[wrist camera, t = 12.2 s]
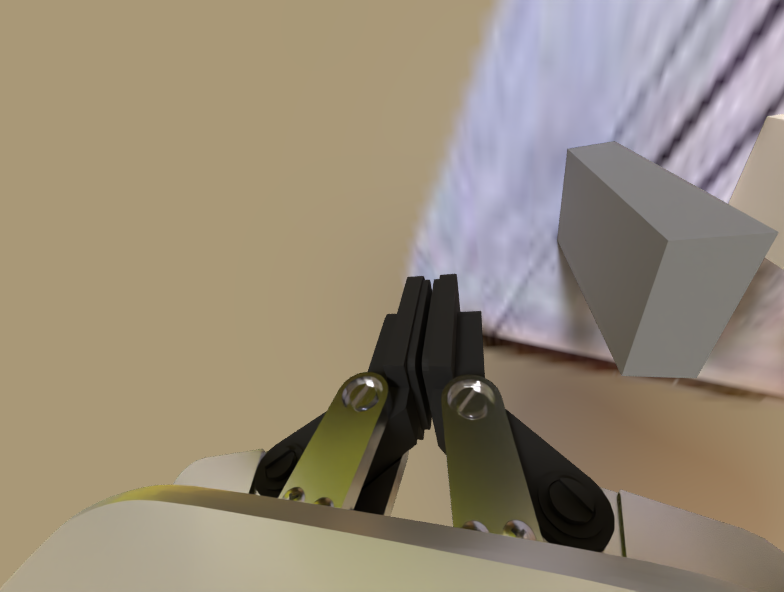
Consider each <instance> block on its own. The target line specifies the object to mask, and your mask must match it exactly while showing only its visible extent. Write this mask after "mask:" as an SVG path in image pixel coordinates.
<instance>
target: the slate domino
mask: <svg viewBox="0 0 784 592" xmlns="http://www.w3.org/2000/svg"><path fill="white" fill-rule="evenodd" d="M778 233H779V232H778V231H776V230H774V229H772V228H771V227H769V226H767V225H765V224H763V223H762V222H760V221H758V220H756V219H754V218H752V217H751V216H749V215H747V214H745V213H743V212H742V211H740V210H738V209H736V208H734V207H733V206H731V205H729V204H727V203H725V202H724V201H722V200H720V199H718V198H716V197H715V196H713V195H711V194H709V193H707V192H706V191H704V190H702V189H700V188H698V187H696V186H695V185H693V184H691V183H689V182H687V181H686V180H684V179H682V178H680V177H678V176H677V175H675V174H673V173H671V172H669V171H668V170H666V169H664V168H662V167H660V166H659V165H657V164H655V163H653V162H651V161H650V160H648V159H646V158H644V157H642V156H640V155H639V154H637V153H635V152H633V151H631V150H630V149H628V148H626V147H624V146H622V145H621V144H619V143H617V142H615V141H613V142H607V143H601V144H594V145H588V146H582V147H576V148H570V149H567V158H566V167H565V176H564V185H563V193H562V202H561V211H560V220H559V228H558V237H557V241H558V243H559V245H560V247H561V249H562V251H563V253H564V255H565V257H566V259H567V262H568V264H569V266H570V268H571V270H572V272H573V274H574V276H575V278H576V281H577V283H578V285H579V287H580V289H581V291H582V293H583V295H584V297H585V300H586V302H587V304H588V306H589V308H590V310H591V312H592V314H593V316H594V318H595V321H596V323H597V325H598V327H599V329H600V331H601V333H602V335H603V337H604V340H605V342H606V344H607V346H608V348H609V350H610V352H611V354H612V356H613V359H614V361H615V363H616V365H617V367H618V369H619V371H620V373H621V375H622V376H643V377H676V378H697V376H698V375H699V373H700V371H701V369H702V368H703V366H704V364H705V362H706V360H707V359H708V357H709V355H710V353H711V352H712V350H713V348H714V346H715V345H716V343H717V341H718V339H719V337H720V336H721V334H722V332H723V330H724V329H725V327H726V325H727V323H728V322H729V320H730V318H731V316H732V314H733V313H734V311H735V309H736V307H737V306H738V304H739V302H740V300H741V299H742V297H743V295H744V293H745V291H746V290H747V288H748V286H749V284H750V283H751V281H752V279H753V277H754V276H755V274H756V272H757V270H758V268H759V267H760V265H761V263H762V261H763V260H764V258H765V256H766V254H767V253H768V251H769V249H770V247H771V245H772V244H773V242H774V240H775V238H776V237H777V235H778Z"/></svg>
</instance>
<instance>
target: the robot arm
mask: <svg viewBox="0 0 784 592" xmlns="http://www.w3.org/2000/svg"><path fill="white" fill-rule="evenodd" d="M432 419H433V424H434V428H435V432H436V437H437V442H438V446H439V447H440V449H441V450H442V451H443V452H444V453H445V454H446V457H447V468H448V478H449V488H450V499H451V510H452V520H453V527H450V526H444V525H439V524H432V523H426V522H420V521H414V520H408V519H402V518H396V517H390V516H391V513H392V510H393V506H394V503H395V499H396V496H397V493H398V490H399V486H400V483H401V480H402V476H403V473H404V470H405V466H406V463H407V460H408V453H409V450H410V449H411V448H412V447H413V446H414V445H416V444H417V439H419V440H423V438H424V430H425V429H428V430H430V428H431V420H432ZM0 592H784V553H783V552H782V551H781V550H780V549H778V548H777V547H775V546H774V545H773V544H771V543H770V542H768V541H767V540H765V539H764V538H762V537H760V536H758V535H756V534H754V533H751V532H749V531H747V530H745V529H742V528H739V527H736V526H733V525H730V524H727V523H724V522H720V521H717V520H714V519H711V518H708V517H705V516H702V515H698V514H695V513H692V512H689V511H686V510H683V509H680V508H677V507H674V506H670V505H667V504H664V503H661V502H658V501H655V500H652V499H649V498H645V497H642V496H639V495H636V494H633V493H630V492H627V491H624V490H620V491H619V492H618V493H617V492H614V491H611V490H608V489H604V488H601V487H599V486H598V485H597V484H596V483H595V482H594V481H593V480H592V479H591V478H590V477H588V476H587V475H586V474H584V473H583V472H582V471H581V470H579V469H578V468H577V467H576V466H575V465H574V464H572V463H571V462H570V461H569V460H567V459H566V458H565V457H564V456H563V455H561V454H560V453H559V452H558V451H556V450H555V449H554V448H553V447H552V446H550V445H549V444H548V443H547V442H545V441H544V440H543V439H542V438H541V437H539V436H538V435H537V434H536V433H534V432H533V431H532V430H531V429H529V428H528V427H527V426H526V425H525V424H523V423H522V422H521V421H520V420H519V419H517V418H516V417H515V416H514V415H512V414H511V413H510V412H509V411H507V410H506V409H505V407H504V403H503V400H502V396H501V394H500V392H499V390H498V388H497V387H496V386H495V385H494V384H493V383H492V382H491V381H489V380H487V379H486V378H485V373H484V354H483V336H482V318H481V311H472V312H460V304H459V293H458V282H457V274H447V275H440V279H434V283H433V290H432V288H431V282H430V280H425V278H424V276H415V277H407V280H406V284H405V287H404V291H403V294H402V298H401V302H400V306H399V309H398V312H397V314H387V315H386V318H385V320H384V323H383V326H382V329H381V332H380V335H379V339H378V341H377V345H376V348H375V351H374V354H373V357H372V360H371V363H370V366H369V369H368V372H363V373H359V374H356V375H354V376H352V377H350V378H349V379H348V380H346V381H345V382H344V384H343V385H342V386H341V387H340V389H339V390H338V392H337V394H336V396H335V398H334V399H333V401H332V403H331V405H330V406H329V408H328V410H327V411H326V412H325V413H323V414H322V415H320V416H319V417H317V418H316V419H314V420H313V421H311V422H310V423H308V424H307V425H305V426H304V427H302V428H301V429H299V430H297V431H296V432H294V433H293V434H292V435H290V436H289V437H287V438H285V439H284V440H282V441H281V442H280V443H278V444H276V445H275V446H274V447H273V448H271V449H270V450H269V451H267V452H265V451H264V450H263V449H258V450H252V451H246V452H239V453H232V454H226V455H220V456H213V457H207V458H202V459H200V460H197V461H195V462H193V463H192V464H190V465H189V466H187V467H186V468H185V469H184V470H183V471H182V472H181V473H180V474H179V476H178V477H177V479H176V480H175V482H174V483H173V485H154V486H148V487H142V488H138V489H134V490H130V491H127V492H124V493H121V494H118V495H115V496H112V497H109V498H107V499H105V500H102V501H100V502H98V503H96V504H94V505H92V506H90V507H88V508H86V509H84V510H82V511H81V512H79V513H78V514H76V515H75V516H73V517H72V518H70V519H69V520H68V521H67V522H65V523H64V524H63V525H62V526H61V527H60V528H58V529H57V530H56V531H55V532H54V533H53V534H52V535H51V536H50V537H49V538H48V539H47V540H46V541H45V542H44V543H43V544H42V545H41V546H40V547H39V548H38V549H37V550H36V551H35V552H34V553H33V554H32V555H31V556H30V557H29V558H28V559H27V560H26V561H25V562H24V563H23V565H22V566H21V567H20V568H19V569H18V570H17V571H16V572H15V573H14V574H13V575H12V576H11V577H10V578H9V579H8V580H7V582H6V583H5V584H4V585H3V586H2V587H1V588H0Z"/></svg>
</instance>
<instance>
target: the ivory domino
mask: <svg viewBox="0 0 784 592" xmlns="http://www.w3.org/2000/svg"><path fill="white" fill-rule="evenodd" d="M728 204H729V205H731V206H733V207H734V208H736V209H738V210H740V211H742V212H743V213H745V214H747V215H749V216H751V217H752V218H754V219H756V220H758V221H760V222H762V223H763V224H765V225H767V226H769V227H771V228H772V229H774V230H776V231H778V232H779V233H778V235H777V237H776V238H775V240H774V242H773V244H772V245H771V247H770V249H769V251H768V253H767V254H766V256H765V258H766V259H768V260H769V261H771V262H772V263H774V264H775V265H777V266H778V267H780V268H781V269H783V270H784V114H781V115H775V116H768V117H767V118H766V120H765V122H764V125H763V127H762V129H761V131H760V134H759V136H758V138H757V140H756V143H755V145H754V147H753V149H752V152H751V154H750V156H749V158H748V161H747V163H746V165H745V167H744V170H743V172H742V174H741V176H740V179H739V181H738V183H737V185H736V188H735V190H734V192H733V194H732V197H731V199H730V201H729V203H728Z"/></svg>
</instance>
